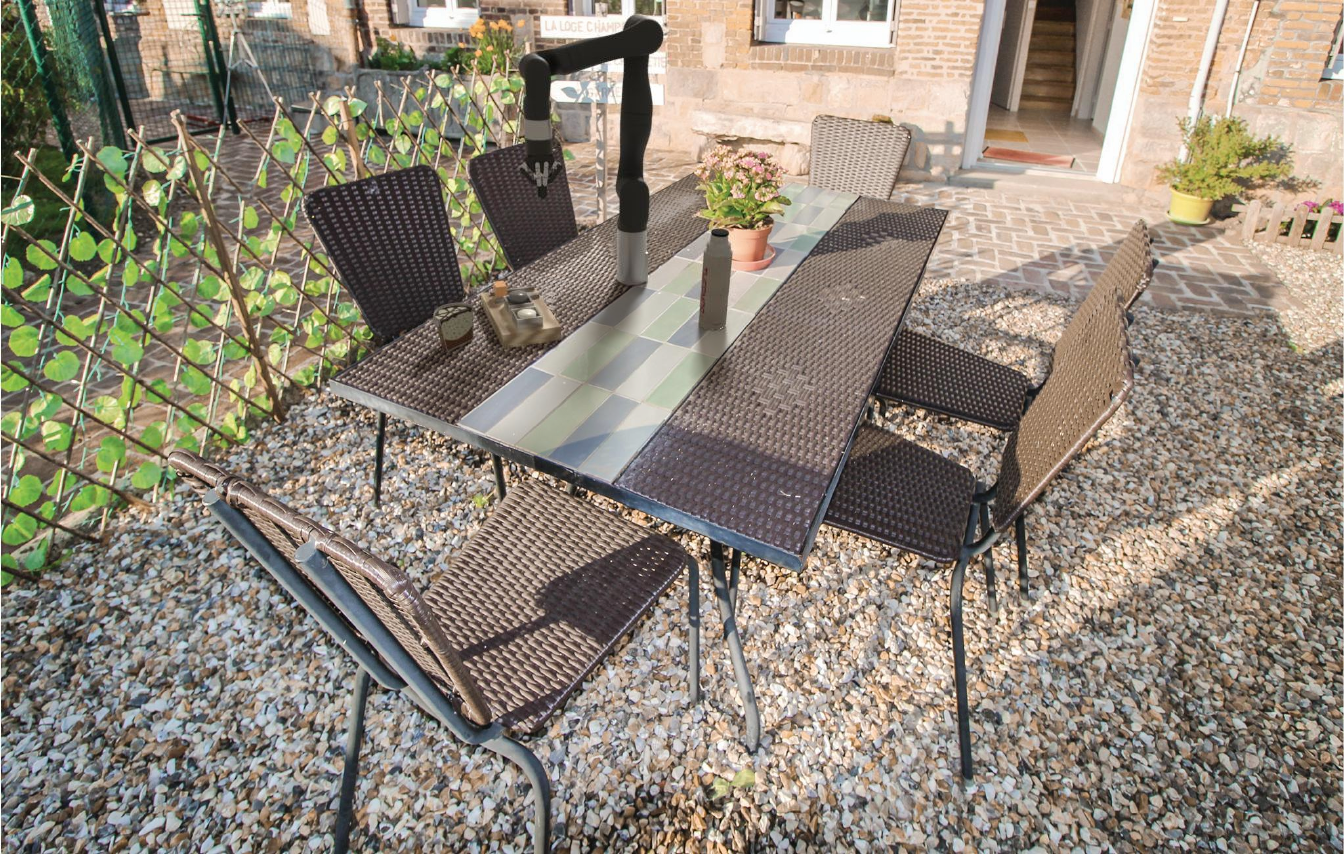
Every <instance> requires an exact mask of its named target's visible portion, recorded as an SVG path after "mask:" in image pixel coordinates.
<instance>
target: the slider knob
mask: <svg viewBox="0 0 1344 854" xmlns="http://www.w3.org/2000/svg"><path fill="white" fill-rule="evenodd" d="M492 286H493V291H494V295H495V297H496V299H498V298H503V296H508V295H507V289H508V286H507V284H506V283H505V281H504V280H499V281H498V280H497V281H493V282H492Z"/></svg>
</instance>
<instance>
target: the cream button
mask: <svg viewBox="0 0 1344 854" xmlns="http://www.w3.org/2000/svg"><path fill="white" fill-rule="evenodd" d="M517 316H518V319H523V318H530V317H536V311H534V310H532V309H523V310H520V311H518V313H517Z"/></svg>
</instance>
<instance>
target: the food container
mask: <svg viewBox="0 0 1344 854" xmlns="http://www.w3.org/2000/svg"><path fill="white" fill-rule="evenodd" d="M475 311H476V310H475V308H474V306H473V304H471V303H468V302H452V303H447V304H442V305H441V306H439V307H437V308H436V309H435V310H434V312H433V315H432V323H433V324H434V326H436V328H437V333H438V336H439V341H440V345H441V348H442V350H443V351H444V352H446V353H448V352H451V351H453V350H455V349H456V348H459V347H462V346H463V345H466V344H467V343H469V342H472V341H473V340H474V339H475V336H474V312H475Z"/></svg>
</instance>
